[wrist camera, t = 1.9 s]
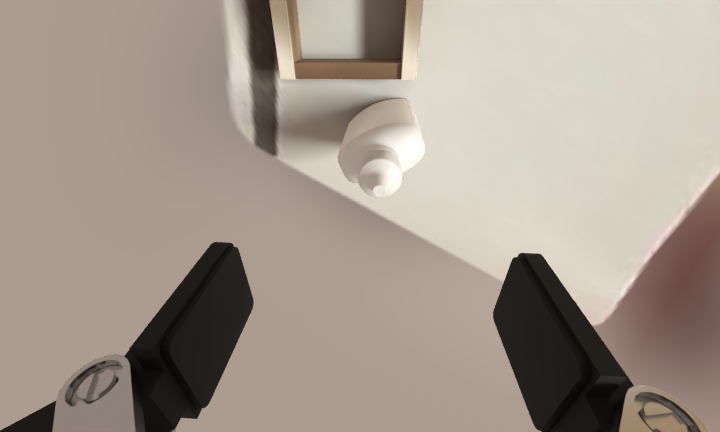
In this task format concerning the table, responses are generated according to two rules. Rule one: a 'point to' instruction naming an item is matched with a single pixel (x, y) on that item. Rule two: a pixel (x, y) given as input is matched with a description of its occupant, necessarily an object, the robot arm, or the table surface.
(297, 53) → the walnut collar
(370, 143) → the eye dropper bottle
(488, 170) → the table surface
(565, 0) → the table surface
